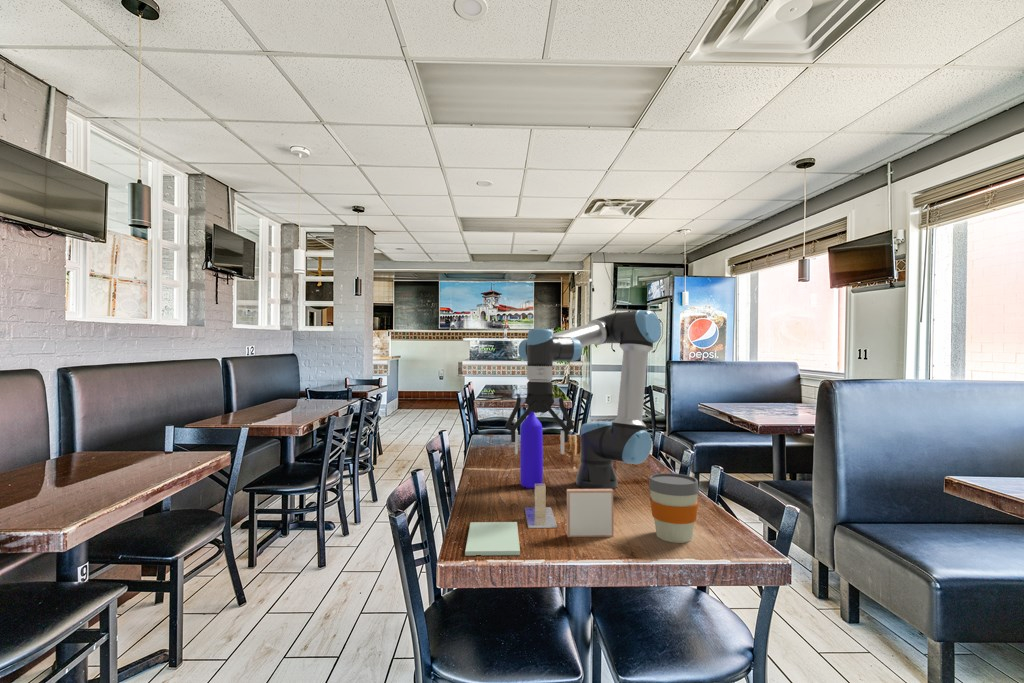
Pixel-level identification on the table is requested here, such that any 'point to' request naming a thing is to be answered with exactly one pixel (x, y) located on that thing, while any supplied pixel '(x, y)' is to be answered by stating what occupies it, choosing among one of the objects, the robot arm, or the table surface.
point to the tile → (590, 513)
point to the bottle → (531, 452)
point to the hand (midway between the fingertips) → (539, 453)
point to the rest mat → (492, 539)
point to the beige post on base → (540, 510)
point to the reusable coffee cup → (674, 506)
